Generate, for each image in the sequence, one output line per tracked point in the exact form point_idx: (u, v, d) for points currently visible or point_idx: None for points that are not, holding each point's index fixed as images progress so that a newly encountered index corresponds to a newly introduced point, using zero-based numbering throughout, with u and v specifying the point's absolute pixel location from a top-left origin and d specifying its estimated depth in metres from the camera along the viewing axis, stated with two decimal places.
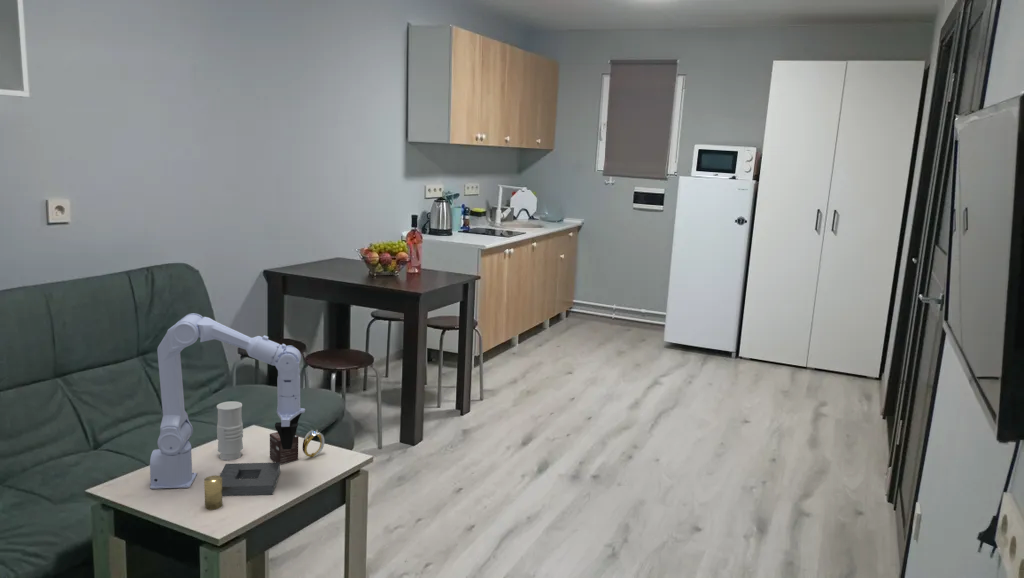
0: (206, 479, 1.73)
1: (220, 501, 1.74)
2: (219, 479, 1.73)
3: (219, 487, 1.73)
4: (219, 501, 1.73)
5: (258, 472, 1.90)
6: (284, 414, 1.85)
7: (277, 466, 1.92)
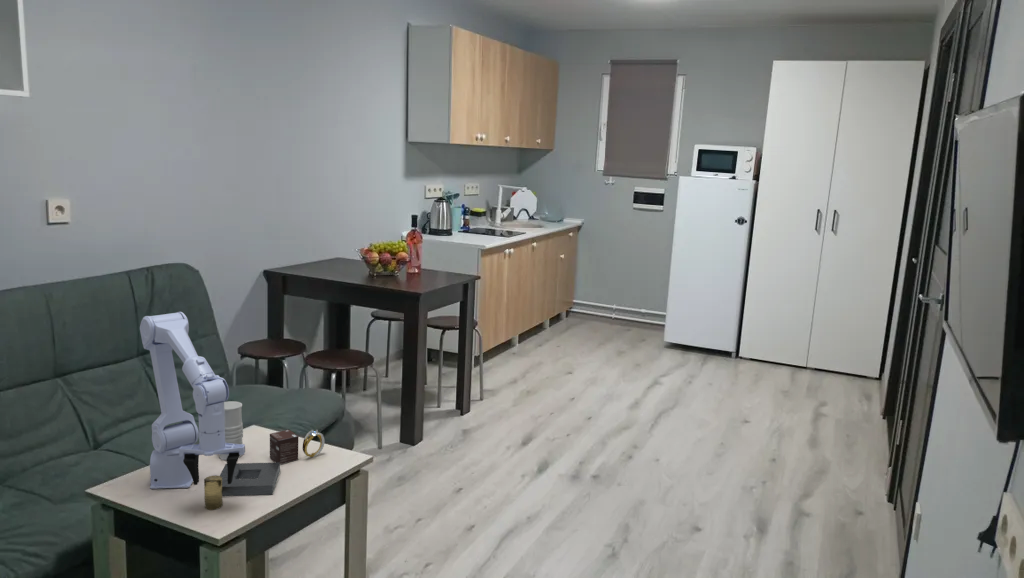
0: (206, 479, 1.73)
1: (220, 501, 1.74)
2: (219, 479, 1.73)
3: (219, 487, 1.73)
4: (219, 501, 1.73)
5: (258, 472, 1.90)
6: None
7: (277, 466, 1.92)
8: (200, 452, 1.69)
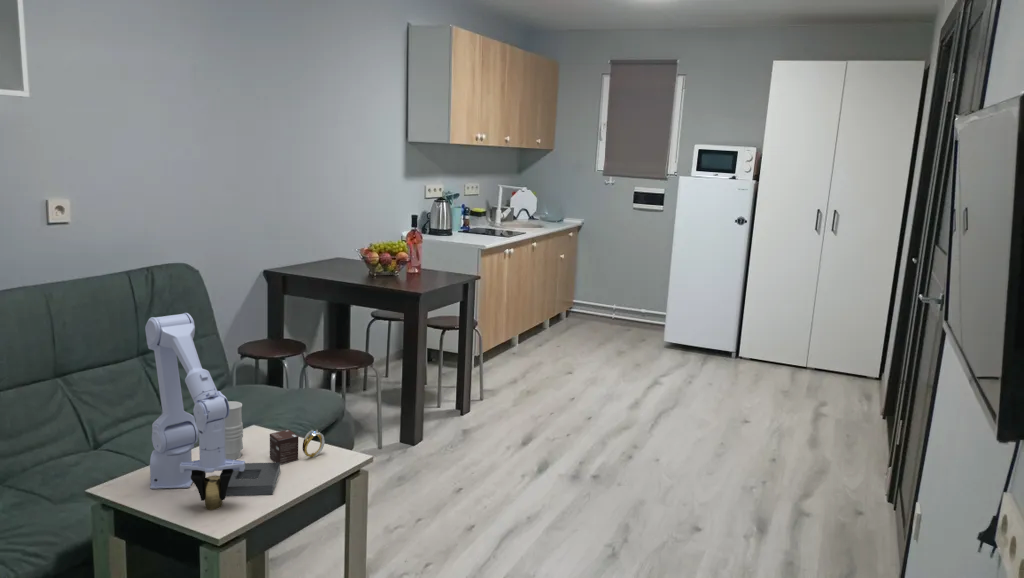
0: (206, 479, 1.73)
1: (220, 501, 1.74)
2: (219, 479, 1.73)
3: (219, 487, 1.73)
4: (219, 501, 1.73)
5: (258, 472, 1.90)
6: (200, 462, 1.73)
7: (277, 466, 1.92)
8: (200, 469, 1.70)
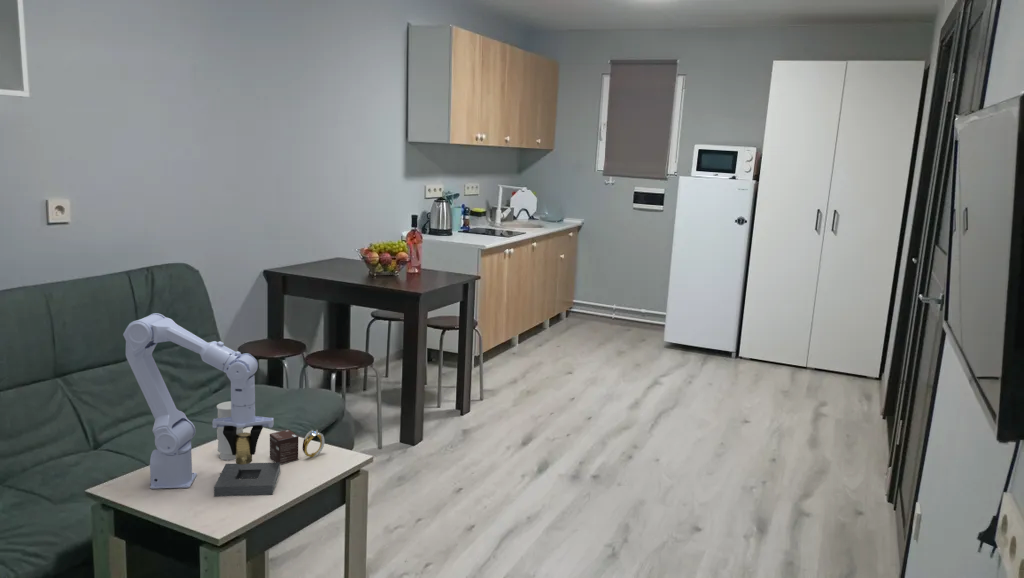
0: (237, 435, 1.82)
1: (249, 457, 1.83)
2: (249, 435, 1.83)
3: (248, 443, 1.82)
4: (249, 457, 1.83)
5: (258, 472, 1.90)
6: None
7: (277, 466, 1.92)
8: (232, 424, 1.80)
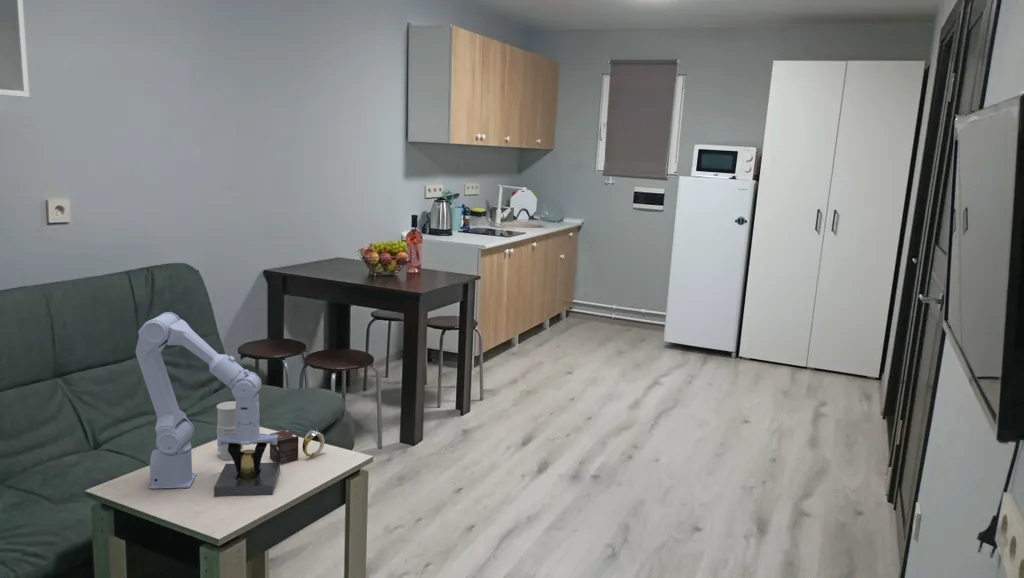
0: (241, 452, 1.85)
1: (254, 473, 1.86)
2: (253, 452, 1.85)
3: (253, 460, 1.85)
4: (253, 473, 1.85)
5: (258, 472, 1.90)
6: (236, 436, 1.85)
7: (277, 466, 1.92)
8: (237, 442, 1.82)
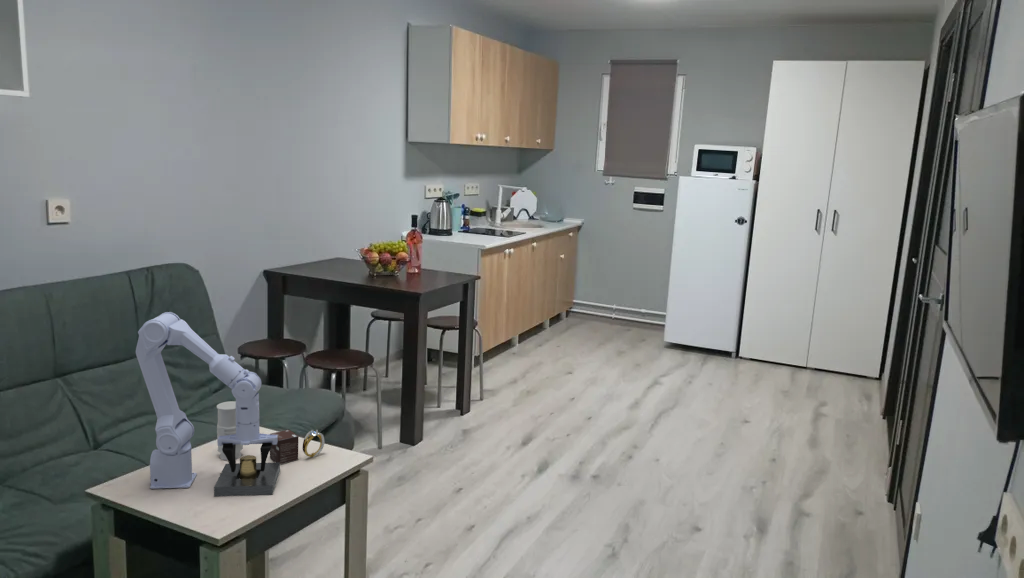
0: (242, 458, 1.85)
1: None
2: (254, 458, 1.86)
3: (253, 466, 1.85)
4: None
5: (258, 472, 1.90)
6: (236, 436, 1.85)
7: (277, 466, 1.92)
8: (237, 442, 1.82)
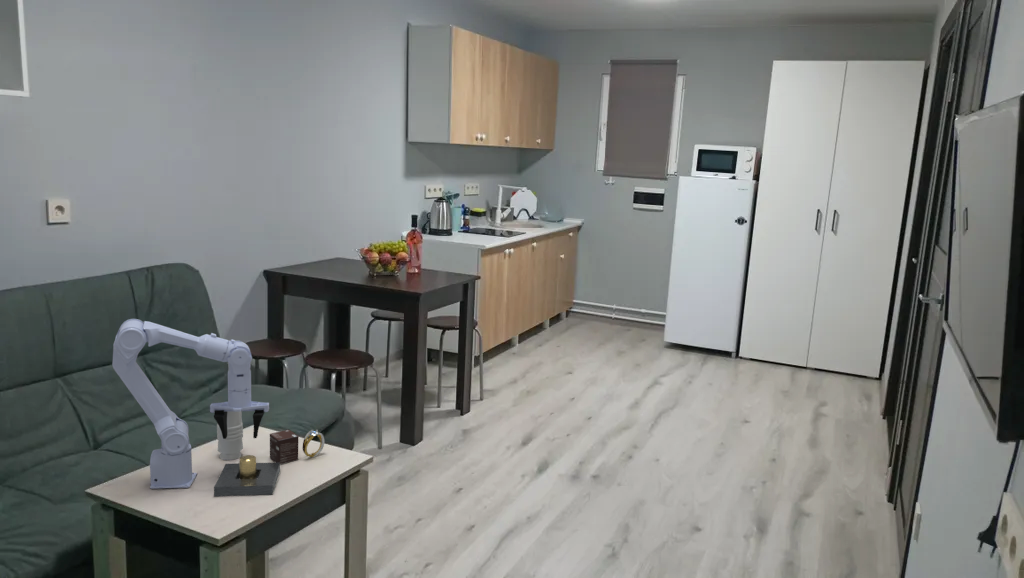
0: (241, 458, 1.85)
1: None
2: (253, 458, 1.86)
3: (253, 465, 1.85)
4: None
5: (258, 472, 1.90)
6: None
7: (277, 466, 1.92)
8: (229, 408, 1.86)
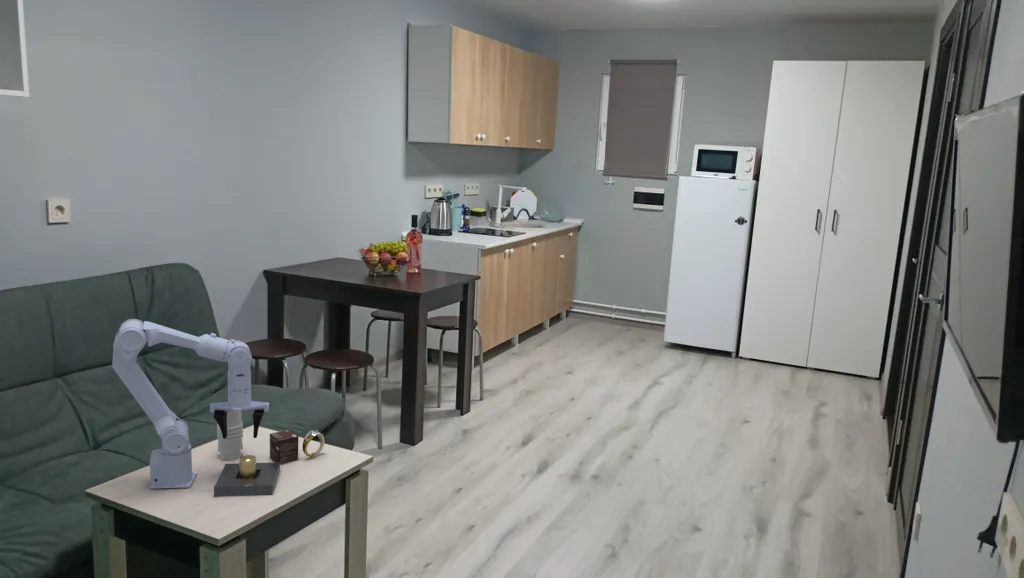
0: (241, 458, 1.85)
1: None
2: (253, 458, 1.86)
3: (253, 465, 1.85)
4: None
5: (258, 472, 1.90)
6: None
7: (277, 466, 1.92)
8: (229, 408, 1.86)
